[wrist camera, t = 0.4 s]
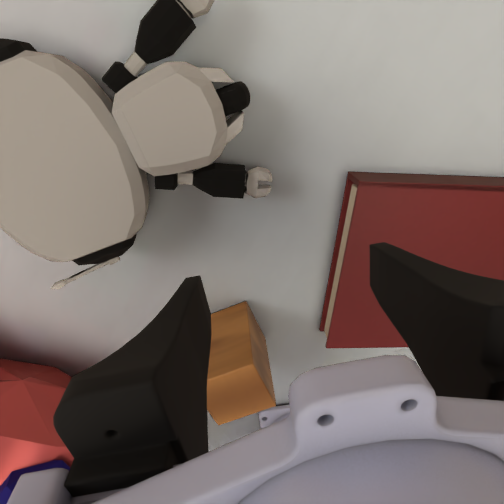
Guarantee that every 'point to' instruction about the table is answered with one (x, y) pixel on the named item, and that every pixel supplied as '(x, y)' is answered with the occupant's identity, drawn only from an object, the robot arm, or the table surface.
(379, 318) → the book
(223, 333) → the wood block
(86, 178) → the robot toy
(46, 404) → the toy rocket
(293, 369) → the table surface
